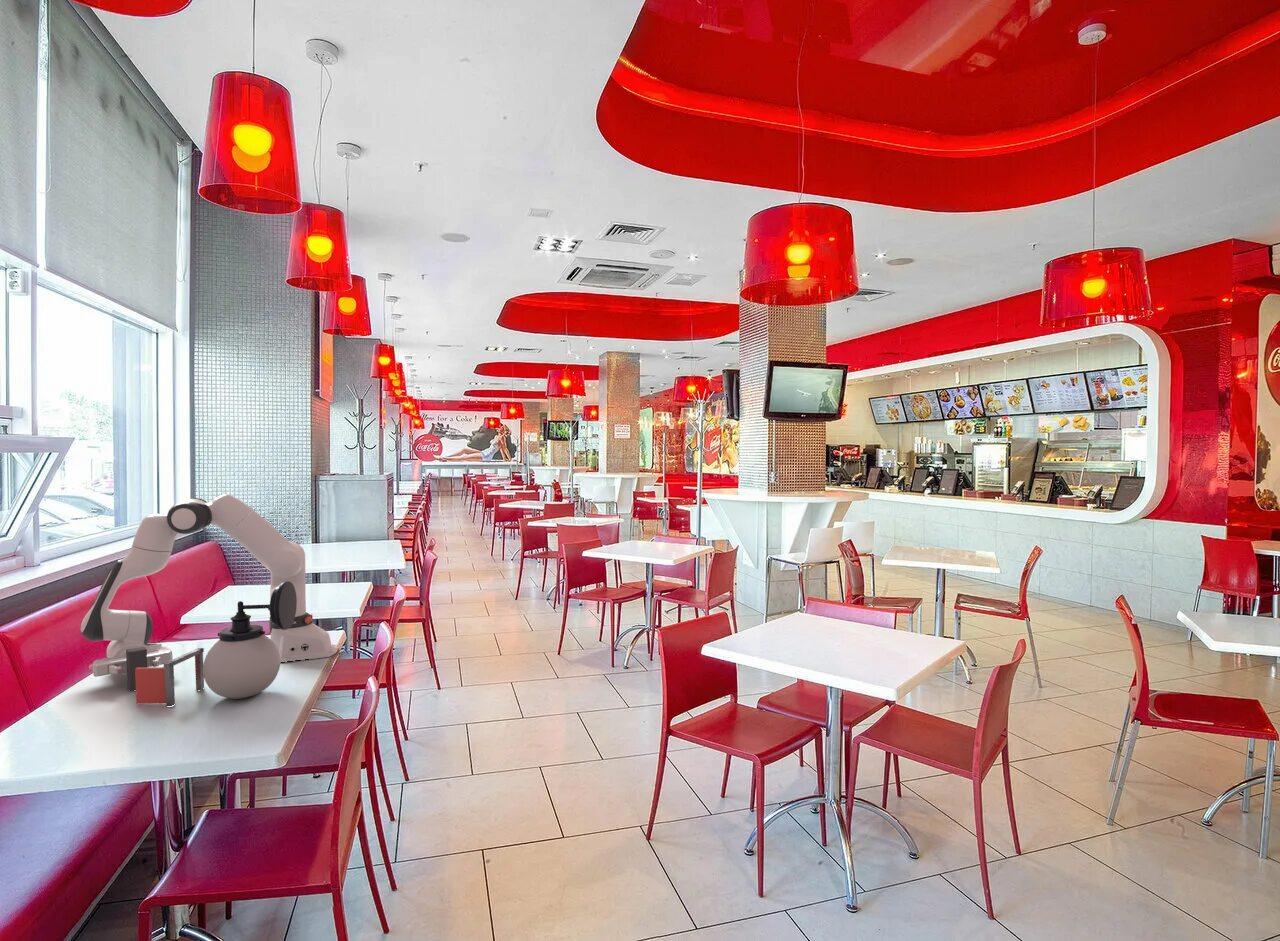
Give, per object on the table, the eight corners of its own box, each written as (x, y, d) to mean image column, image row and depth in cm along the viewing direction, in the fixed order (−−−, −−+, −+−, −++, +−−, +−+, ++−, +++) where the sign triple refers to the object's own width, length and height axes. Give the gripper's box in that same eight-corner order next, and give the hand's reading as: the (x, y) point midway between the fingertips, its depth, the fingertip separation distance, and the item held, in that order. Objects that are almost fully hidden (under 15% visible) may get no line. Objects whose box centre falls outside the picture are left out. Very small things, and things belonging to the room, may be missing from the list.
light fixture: (223, 686, 219) (220, 577, 218) (303, 683, 221) (299, 575, 220) (190, 710, 200) (185, 591, 198) (277, 706, 202) (273, 588, 201)
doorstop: (145, 685, 222) (143, 646, 221) (148, 688, 219) (146, 649, 218) (127, 688, 219) (125, 649, 218) (130, 692, 215) (128, 652, 215)
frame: (170, 707, 202) (168, 663, 201) (165, 707, 202) (163, 663, 201) (205, 689, 217) (203, 647, 217) (200, 689, 217) (198, 647, 217)
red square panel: (173, 702, 205) (172, 667, 205) (171, 703, 204) (170, 668, 204) (138, 702, 205) (137, 667, 205) (136, 703, 204) (135, 668, 204)
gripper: (87, 655, 221) (94, 664, 211) (166, 641, 235) (176, 650, 225) (88, 675, 221) (95, 686, 211) (167, 661, 235) (177, 670, 225)
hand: (137, 667), depth 218 cm, fingers open, 8 cm apart
